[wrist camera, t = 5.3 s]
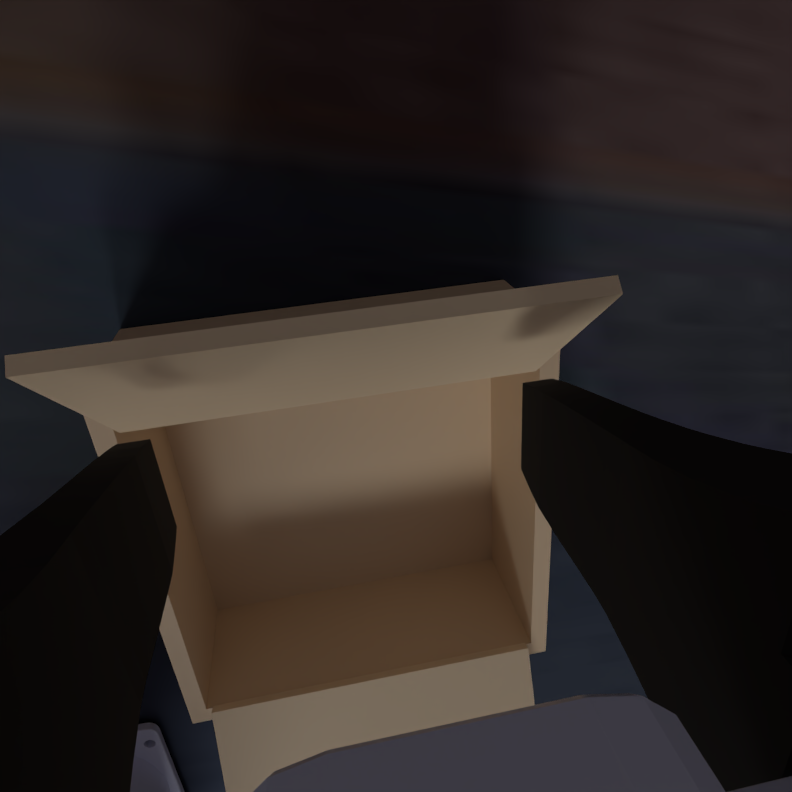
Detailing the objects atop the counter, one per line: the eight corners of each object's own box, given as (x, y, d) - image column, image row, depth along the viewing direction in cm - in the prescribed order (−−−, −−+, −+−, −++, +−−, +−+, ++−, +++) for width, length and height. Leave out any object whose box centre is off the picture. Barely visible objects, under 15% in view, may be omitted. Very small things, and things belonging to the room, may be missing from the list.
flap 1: (623, 294, 12) (618, 275, 12) (5, 377, 11) (4, 355, 11) (535, 371, 17) (532, 357, 17) (120, 432, 16) (118, 418, 16)
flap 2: (528, 648, 22) (524, 642, 23) (211, 712, 21) (213, 706, 21) (543, 786, 23) (539, 778, 24) (238, 857, 22) (239, 848, 22)
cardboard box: (502, 562, 28) (545, 651, 23) (207, 617, 26) (192, 723, 22) (503, 279, 22) (561, 327, 17) (119, 329, 20) (76, 395, 16)
